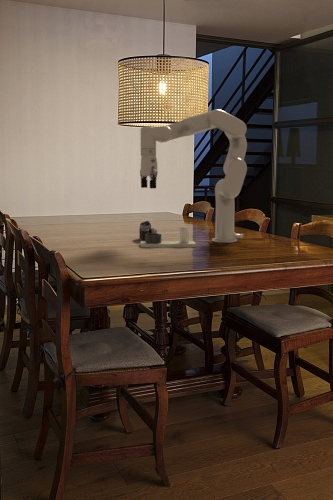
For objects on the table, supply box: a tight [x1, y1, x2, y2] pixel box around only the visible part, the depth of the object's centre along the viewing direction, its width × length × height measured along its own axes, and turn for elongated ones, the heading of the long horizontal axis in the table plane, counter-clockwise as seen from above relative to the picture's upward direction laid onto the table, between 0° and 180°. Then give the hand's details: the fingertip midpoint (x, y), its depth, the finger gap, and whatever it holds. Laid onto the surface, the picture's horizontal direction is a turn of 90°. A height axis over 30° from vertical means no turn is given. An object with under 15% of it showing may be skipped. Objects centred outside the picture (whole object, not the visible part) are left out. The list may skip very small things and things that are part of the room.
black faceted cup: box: [145, 232, 162, 244], centre depth 272 cm, size 8×8×4 cm
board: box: [140, 240, 197, 248], centre depth 273 cm, size 26×10×2 cm, turn 94°
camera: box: [138, 220, 158, 242], centre depth 293 cm, size 16×8×10 cm, turn 9°
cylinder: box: [179, 226, 190, 243], centre depth 273 cm, size 4×4×7 cm
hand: (148, 188), depth 279 cm, fingers open, 9 cm apart
